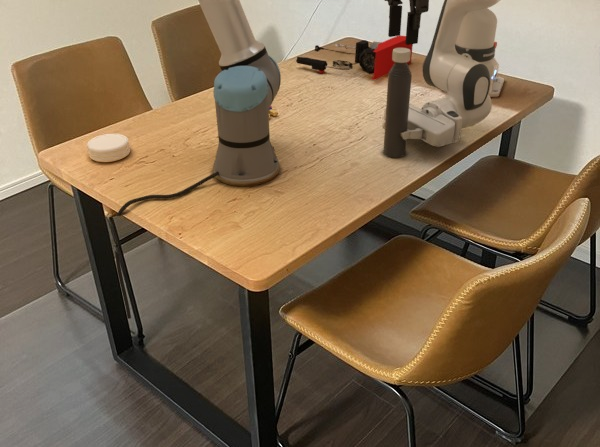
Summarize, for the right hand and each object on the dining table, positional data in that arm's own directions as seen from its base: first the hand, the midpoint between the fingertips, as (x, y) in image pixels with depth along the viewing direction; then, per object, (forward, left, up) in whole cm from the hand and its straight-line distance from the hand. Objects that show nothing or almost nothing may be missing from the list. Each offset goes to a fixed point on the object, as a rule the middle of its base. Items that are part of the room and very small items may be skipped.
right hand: (393, 130), depth 149 cm
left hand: (-1, 0, +22) cm, 22 cm away
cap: (-1, 0, +19) cm, 19 cm away
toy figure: (-4, -44, -6) cm, 45 cm away
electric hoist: (-55, -41, -6) cm, 68 cm away
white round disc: (+37, -59, -6) cm, 70 cm away
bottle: (-1, 0, -6) cm, 6 cm away
